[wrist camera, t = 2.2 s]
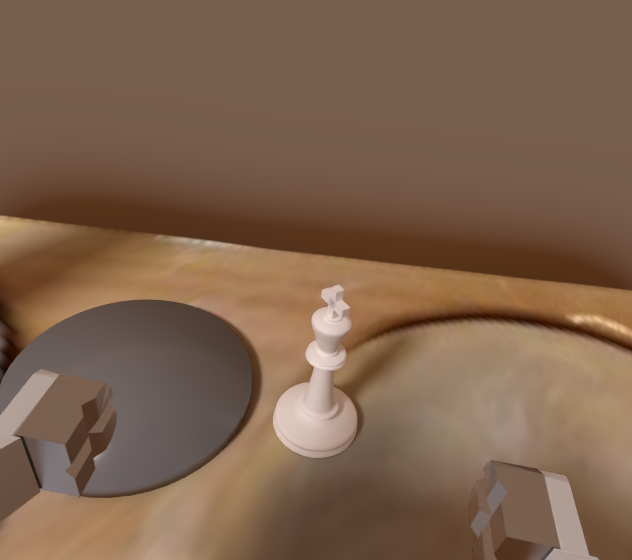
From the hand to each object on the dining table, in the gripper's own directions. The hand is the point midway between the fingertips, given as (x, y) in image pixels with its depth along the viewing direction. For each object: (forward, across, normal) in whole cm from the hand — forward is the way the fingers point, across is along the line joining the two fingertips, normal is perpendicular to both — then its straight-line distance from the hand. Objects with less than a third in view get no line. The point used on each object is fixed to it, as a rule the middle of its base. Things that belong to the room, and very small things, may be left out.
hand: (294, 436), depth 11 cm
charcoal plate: (+12, +10, +16) cm, 22 cm away
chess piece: (+12, 0, +16) cm, 20 cm away
